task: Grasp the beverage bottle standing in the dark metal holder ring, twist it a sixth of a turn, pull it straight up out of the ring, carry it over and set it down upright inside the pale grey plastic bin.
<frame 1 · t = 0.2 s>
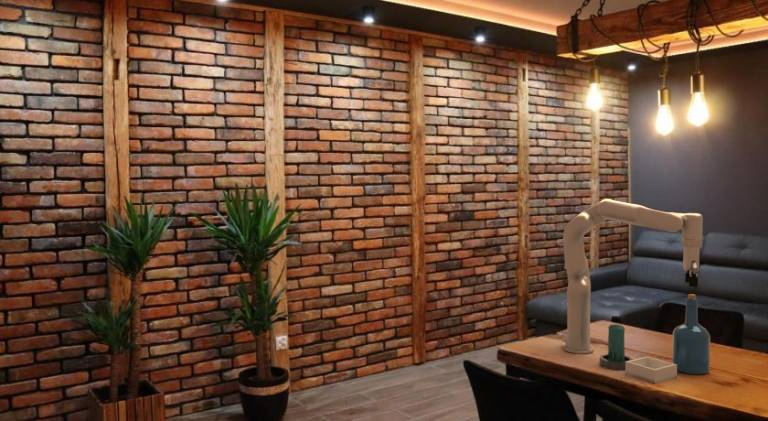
hand: (691, 284, 267), 31 cm above the table, tool pointing down, fingers open, 9 cm apart
bin: (650, 375, 247), on the table
wine bottle: (690, 370, 253), on the table
holder ring: (616, 365, 260), on the table
beverage bottle: (616, 366, 260), resting in holder ring
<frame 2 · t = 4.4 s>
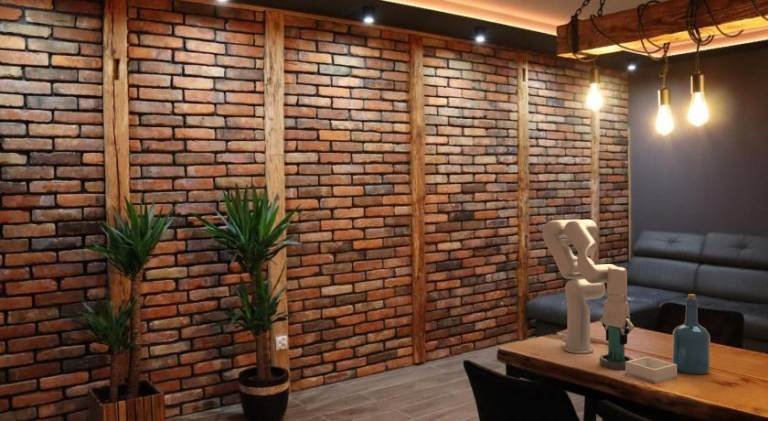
hand: (616, 341, 260), 10 cm above the table, tool pointing down, fingers closed on beverage bottle, 6 cm apart
beverage bottle: (616, 366, 260), resting in holder ring, touching gripper
everything else where it was.
when the fingers open (12 cm above the table, at t = 12.2 s): beverage bottle drops 1 cm, resting on bin.
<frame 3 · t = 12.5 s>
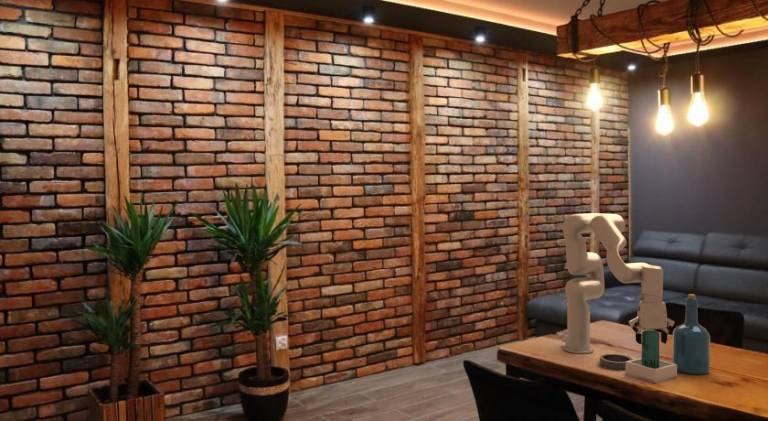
hand: (651, 343, 246), 13 cm above the table, tool pointing down, fingers open, 9 cm apart
beverage bottle: (650, 373, 247), point 1 cm above the table, touching bin
everything else where it was.
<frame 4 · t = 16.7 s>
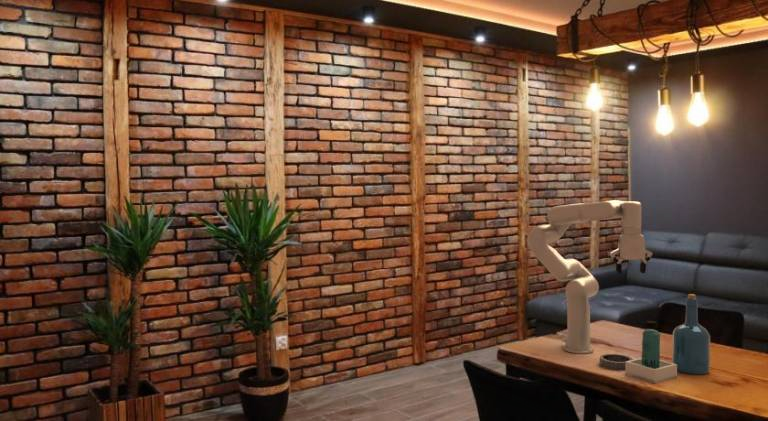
hand: (630, 273, 265), 36 cm above the table, tool pointing down, fingers open, 9 cm apart
nothing on the table moved.
at the end: beverage bottle inside the target area on the bin (0.2 cm from its centre), point 0.8 cm above the bin's base; beverage bottle tilted 0°; the gripper is holding nothing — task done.
